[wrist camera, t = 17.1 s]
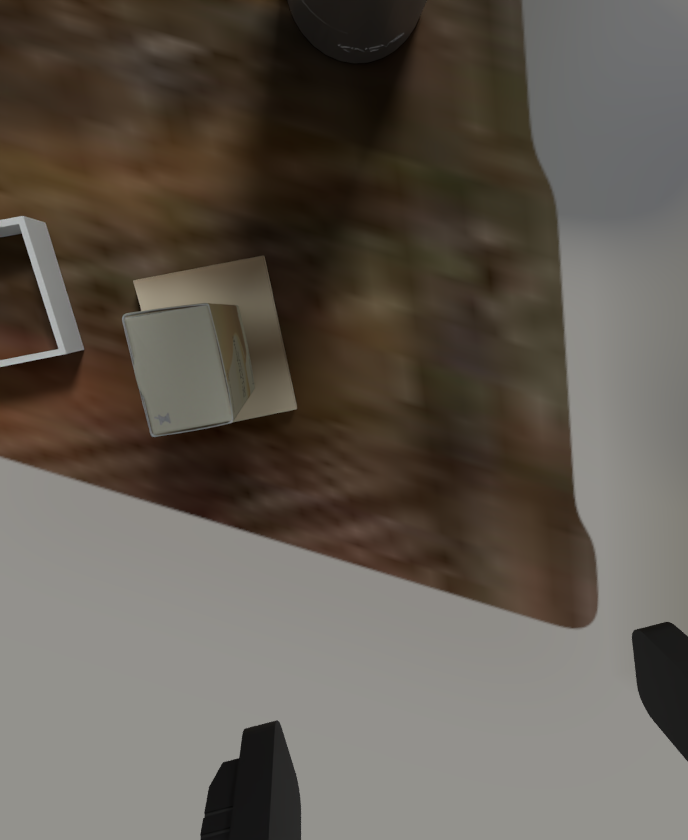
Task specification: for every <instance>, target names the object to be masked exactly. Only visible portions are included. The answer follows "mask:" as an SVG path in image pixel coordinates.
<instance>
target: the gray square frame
mask: <svg viewBox="0 0 688 840" xmlns="http://www.w3.org/2000/svg"><path fill="white" fill-rule="evenodd" d="M17 234H22V235H23V238H24V242H25V245H26V248H27V251H28V254H29V257H30V261H31V264H32V267H33V270H34V273H35V276H36V279H37V283H38V286H39V289H40V292H41V295H42V298H43V301H44V305H45V308H46V311H47V314H48V317H49V320H50V323H51V327H52V330H53V333H54V336H55V339H56V342H57V345H58V349H56V350H51V351H46V352H41V353H36V354H30V355H25V356H20V357H15V358H10V359H5V360H0V367H3V366H8V365H13V364H18V363H23V362H28V361H33V360H38V359H43V358H48V357H54V356H59V355H64V354H68V353H73V352H77V351H81V350H84V347H83V344H82V341H81V337H80V334H79V331H78V327H77V324H76V321H75V318H74V314H73V311H72V308H71V305H70V301H69V298H68V295H67V292H66V288H65V285H64V282H63V279H62V275H61V272H60V269H59V265H58V262H57V259H56V256H55V252H54V249H53V246H52V243H51V239H50V236H49V233H48V230H47V226H46V223H45V222H42V221H38V220H35V219H32V218H28V217H25V216H20V217H15V218H9V219H4V220H0V238H1V237H6V236H11V235H17Z"/></svg>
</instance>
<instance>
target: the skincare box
mask: <svg viewBox="0 0 688 840" xmlns="http://www.w3.org/2000/svg"><path fill="white" fill-rule="evenodd" d="M122 322H123V326H124V330H125V335H126V339H127V343H128V347H129V351H130V355H131V359H132V363H133V368H134V372H135V376H136V380H137V384H138V387H139V391H140V395H141V399H142V403H143V407H144V411H145V415H146V419H147V422H148V426H149V430H150V434H151V436H152V437H157V436H163V435H171V434H177V433H184V432H189V431H196V430H201V429H206V428H212V427H217V426H221V425H225V424H230V423H232V422H233V421H234V419H235V418H236V416H237V415H238V413H239V412H240V410H241V409H242V407H243V406H244V404H245V403H246V401H247V400H248V398H249V397H250V395H251V394H252V392H253V390H254V389H255V384H254V378H253V371H252V365H251V360H250V354H249V349H248V344H247V339H246V335H245V331H244V326H243V322H242V318H241V313H240V309H239V306H238V305H227V304H212V303H200V304H190V305H181V306H173V307H165V308H158V309H151V310H145V311H139V312H132V313H126V314H124V315H123V317H122Z"/></svg>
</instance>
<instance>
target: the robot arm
mask: <svg viewBox="0 0 688 840" xmlns="http://www.w3.org/2000/svg"><path fill="white" fill-rule="evenodd" d="M426 1H427V0H287V2H288V5H289V8H290V11H291V13H292V16H293V19H294V21H295V22H296V24H297V26H298V27H299V29H300V31H301V32H302V34H303V35H304V36H305V37H306V38H307V39H308V40H309V42H310V43H311V44H312V45H313V46H314V47H316V48H317V49H318V50H320V51H321V52H323V53H324V54H325V55H327V56H330V57H332V58H334V59H337V60H339V61H343V62H349V63H369V62H372V61H375V60H378V59H382V58H384V57H385V56H387V55H389V54H390V53H392V52H394V51H395V50H396V49H397V48H398V47H400V46H401V45H402V44H403V43H404V42H405V41H406V40H407V38H408V37H409V35H410V34H411V32H412V31H413V30H414V28H415V26H416V24H417V22H418V19H419V17H420V15H421V13H422V10H423V8H424V6H425V3H426ZM632 643H633V651H634V661H635V670H636V678H637V686H638V691H639V695H640V698H641V700H642V703H643V705H644V707H645V708H646V710H647V712H648V714H649V715H650V717H651V718H652V719H653V721H654V722H655V723H656V724H657V725H658V727H659V728H660V729H661V730H662V731H663V733H664V734H665V735H666V736H667V737H668V739H669V740H670V741H671V742H672V743H673V745H674V746H675V747H676V748H677V749H678V750H679V752H680V753H681V754H682V755H683V756H684V758H685V759H686V760H687V761H688V636H687V635H685V634H684V633H683V632H682V631H681V630H680V629H678V628H677V627H676V626H675V625H674V624H672V623H670V622H664V623H660V624H656V625H652V626H649V627H645V628H641V629H637V630H634V632H633V633H632ZM201 840H301V803H300V793H299V787H298V781H297V777H296V773H295V770H294V767H293V763H292V760H291V757H290V754H289V751H288V747H287V744H286V741H285V738H284V734H283V732H282V728H281V725H280V723H279V721H273V722H269V723H265V724H262V725H258V726H254V727H250V728H246V729H244V731H243V735H242V742H241V750H240V758H239V759H235V760H231V761H227V762H223V763H222V765H221V767H220V769H219V770H218V772H217V774H216V776H215V778H214V779H213V781H212V783H211V785H210V786H209V791H208V796H207V802H206V807H205V818H203V823H202V829H201Z"/></svg>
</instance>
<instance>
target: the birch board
mask: <svg viewBox="0 0 688 840" xmlns="http://www.w3.org/2000/svg"><path fill="white" fill-rule="evenodd" d="M133 282H134V286H135V289H136V293H137V296H138V300H139V304H140V307H141V311H145V310H151V309H158V308H165V307H173V306H181V305H190V304H200V303H212V304H227V305H238V306H239V309H240V313H241V318H242V322H243V326H244V331H245V335H246V339H247V344H248V349H249V354H250V360H251V365H252V371H253V378H254V384H255V389H254V390H253V392H252V394H251V395H250V397H249V398H248V400H247V401H246V403H245V404H244V406H243V407H242V409H241V410H240V412H239V413H238V415H237V416H236V418H235V419H234V421H233V422H237V421H242V420H246V419H251V418H256V417H261V416H266V415H271V414H276V413H281V412H286V411H291V410H295V409H297V403H296V399H295V394H294V390H293V385H292V380H291V376H290V371H289V366H288V362H287V357H286V353H285V348H284V343H283V339H282V334H281V329H280V325H279V320H278V316H277V311H276V306H275V302H274V297H273V292H272V288H271V283H270V279H269V274H268V269H267V265H266V260H265V257H264V255H263V256H258V257H253V258H248V259H242V260H237V261H232V262H227V263H222V264H216V265H211V266H206V267H201V268H196V269H191V270H185V271H180V272H175V273H170V274H165V275H159V276H154V277H149V278H144V279H139V280H133ZM177 434H178V433H177Z"/></svg>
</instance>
